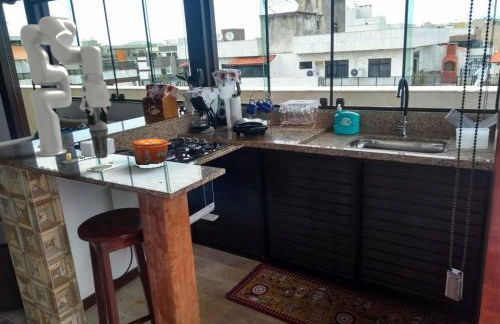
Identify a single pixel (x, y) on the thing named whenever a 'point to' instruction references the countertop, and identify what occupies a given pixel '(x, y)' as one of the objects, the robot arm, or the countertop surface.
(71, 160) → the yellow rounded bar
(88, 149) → the cover
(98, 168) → the board
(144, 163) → the food container
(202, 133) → the countertop surface
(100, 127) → the beverage cup
